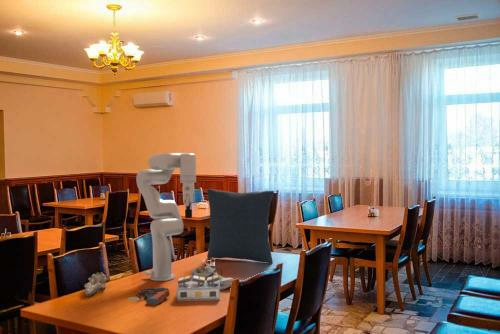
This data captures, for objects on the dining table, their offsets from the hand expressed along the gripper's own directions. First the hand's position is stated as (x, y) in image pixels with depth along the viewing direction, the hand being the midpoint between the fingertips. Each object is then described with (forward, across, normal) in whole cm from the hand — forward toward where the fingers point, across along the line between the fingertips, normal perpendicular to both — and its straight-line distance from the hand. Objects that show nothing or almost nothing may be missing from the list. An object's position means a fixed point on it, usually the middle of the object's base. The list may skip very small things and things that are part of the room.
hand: (188, 217), depth 231 cm
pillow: (+35, +60, -26) cm, 74 cm away
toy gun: (+36, -10, +17) cm, 41 cm away
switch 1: (+27, -10, +2) cm, 29 cm away
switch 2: (+27, -10, -5) cm, 29 cm away
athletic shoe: (+36, +6, -11) cm, 38 cm away
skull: (+36, +2, +46) cm, 58 cm away
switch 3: (+27, -10, -12) cm, 31 cm away
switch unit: (+35, -10, -5) cm, 37 cm away
